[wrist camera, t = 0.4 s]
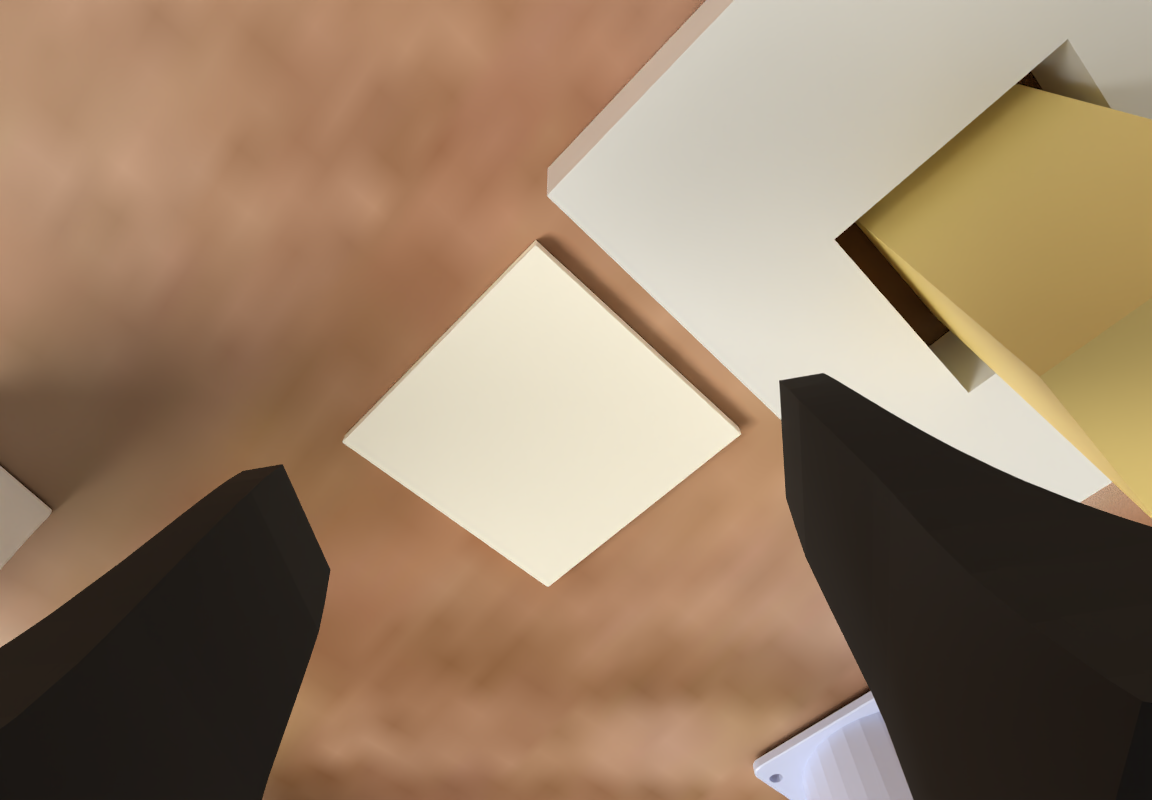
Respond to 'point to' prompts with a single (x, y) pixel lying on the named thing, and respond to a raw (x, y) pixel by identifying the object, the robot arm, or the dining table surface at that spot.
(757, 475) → the dining table surface
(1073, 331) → the block
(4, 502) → the ink cartridge box
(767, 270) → the holder
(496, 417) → the mat
